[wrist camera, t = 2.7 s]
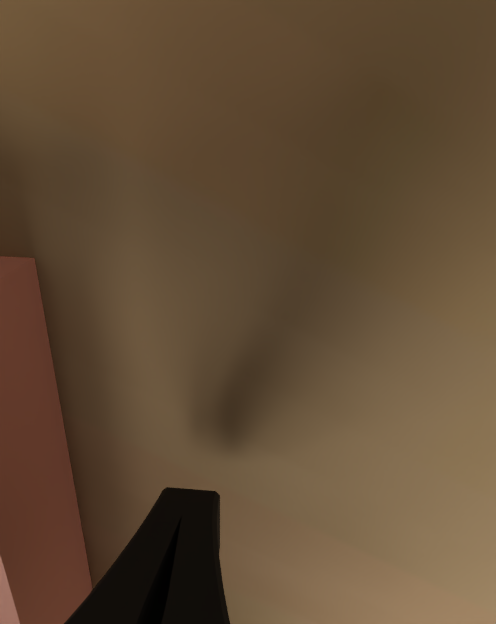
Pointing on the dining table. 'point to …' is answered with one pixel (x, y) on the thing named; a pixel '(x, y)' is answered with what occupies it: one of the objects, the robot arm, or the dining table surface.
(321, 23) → the dining table surface
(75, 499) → the t block
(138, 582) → the robot arm
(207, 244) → the dining table surface
